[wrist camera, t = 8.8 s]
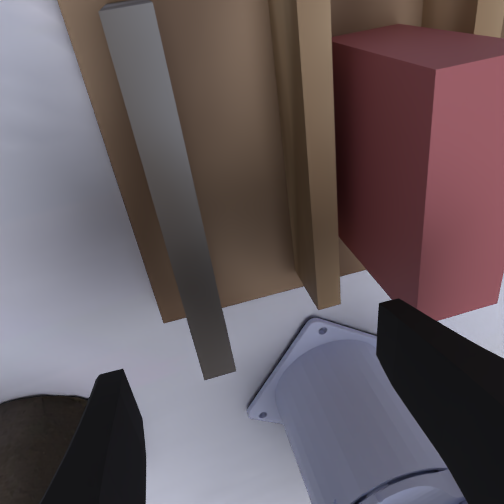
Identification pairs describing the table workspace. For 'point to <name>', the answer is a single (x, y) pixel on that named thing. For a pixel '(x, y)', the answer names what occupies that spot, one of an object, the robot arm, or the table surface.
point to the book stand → (233, 140)
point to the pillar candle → (34, 444)
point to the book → (422, 163)
